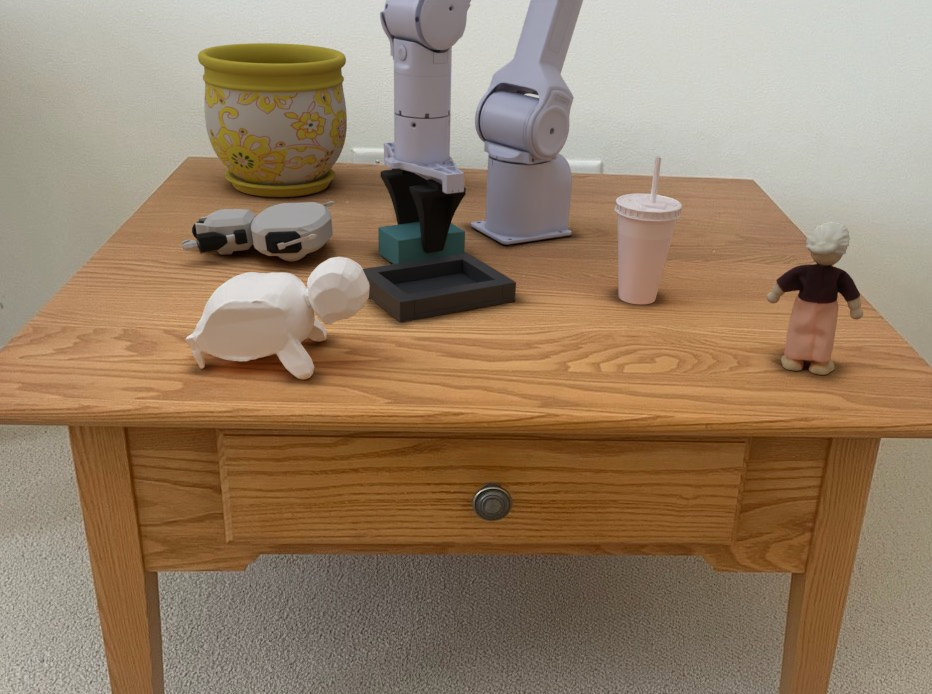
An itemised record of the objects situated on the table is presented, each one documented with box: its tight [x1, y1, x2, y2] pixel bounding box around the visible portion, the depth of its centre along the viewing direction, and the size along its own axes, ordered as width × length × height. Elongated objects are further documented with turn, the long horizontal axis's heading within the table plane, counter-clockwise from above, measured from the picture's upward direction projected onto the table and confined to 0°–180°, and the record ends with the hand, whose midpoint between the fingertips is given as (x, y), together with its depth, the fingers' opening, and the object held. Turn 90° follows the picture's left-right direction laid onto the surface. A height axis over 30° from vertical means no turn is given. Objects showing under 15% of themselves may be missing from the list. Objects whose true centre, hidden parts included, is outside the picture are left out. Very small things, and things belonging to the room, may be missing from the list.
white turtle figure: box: [185, 256, 370, 381], centre depth 78 cm, size 9×8×15 cm
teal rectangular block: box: [377, 222, 466, 264], centre depth 103 cm, size 8×5×3 cm, turn 120°
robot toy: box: [181, 200, 335, 262], centre depth 102 cm, size 12×4×15 cm
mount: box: [362, 252, 517, 323], centre depth 94 cm, size 12×10×2 cm
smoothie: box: [614, 156, 683, 305], centre depth 92 cm, size 6×6×14 cm
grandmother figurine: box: [766, 220, 864, 376], centre depth 80 cm, size 8×4×13 cm, turn 81°
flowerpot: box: [197, 42, 348, 198], centre depth 123 cm, size 18×18×16 cm
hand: (421, 243), depth 103 cm, fingers closed on teal rectangular block, 5 cm apart
